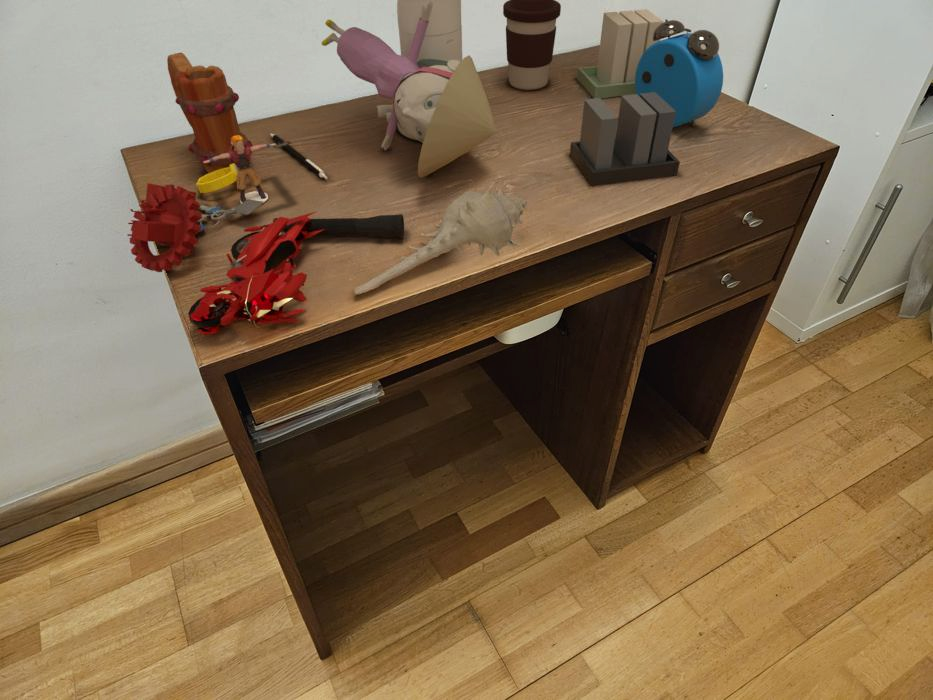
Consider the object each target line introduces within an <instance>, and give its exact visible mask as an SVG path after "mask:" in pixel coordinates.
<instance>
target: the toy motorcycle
mask: <svg viewBox="0 0 933 700" xmlns="http://www.w3.org/2000/svg"><path fill="white" fill-rule="evenodd" d="M317 212H318V210H317V211H313V212H310V213H309V212H308V213H306V214H302V215H297V216H295V217H292V218H288V217H284V216H279V217H277V218H278V219H277V220H275V221H274V222H273V221H272V222H271V223H267V224H264V225H259V226H256V225H255V226H254V225H253V226H250V227H246V228H243V232H245V233H248V234H245V235H243V236H242V237H240V238H238V239H237V240H236V241H235V242H234V243H233V244H232V246H231V248H230V253H231V255H230V253H226V258H227V259H228V261H229V263H230V268H229V269H228V270H227V271H226V277H227V278H228V279H230V280H231V282H230V283H226V284H225V283H224V284H221V285H209V286H204V287H202V288H201V289H200V293H205V294H204V295H203V296H202V297H199V299H197V300H196V301H195V302H194V303H193V304H192V305H191V306H190V309H189V311H188V312H187V313H188V319H189V322H190V324H192V325H194V326H195V327H197V330H198V332H199V333H200V334H204V335H210V334H214V333H218V332H219V331H220V326H221V325H222V326H227V325H229V324H231V323H232V322H233V321H236V320H239V321H240V320H247V321H249V322H250V323H251V324H252V325H254V326H255V327H256V328H257V329H260V328H261V327H267V326H269V327H270V326H273V325H276V324H280V323H281V324H282V323H300V321H299V320H298V319H297V318H296V317H291V316H295V315H298V314H301V313H303V312H305V311H306V309H303V308H295V309H294V310H291V311H288V312H285V313H283V308H284V307H285V306H286V305H287V304H288V302H290V301H291V300H292V301H297V302H300V303H304V302H306V301H308V299H307V298H306V296H305V294H304V293H303V291H302V290H301V288H302V287H304V286H305V283H306V281H307V278H308V277H307V274H306V273H304V272H302V271H301V272H298V273H296V274H294V270H295V269H296V267H297V265H296V264H295V262H294V261H295V260H296V258H298V256H299V254H300V253H301V251H302V248H300V246H301V245H302V243H303V242H304V240H307V239H309V238H312V236H313V235H315V234H317V233H319V232H321V231H323V230H324V229H323V230H318V231H314V232H309V233H307V232H308V230H309V229H310V227H311V225H312V224H311V221H310V219H311V218H310V216H312V215H314V214H315V213H317ZM297 221H298V222H297ZM294 222H297V223H296V224H295V225H294V226H293V227H292V228H290V229H289V230H288V231H287V232H284V231H283V229H284V228H285V226H286V225H289V224H292V223H294ZM231 256H232V257H231ZM232 258H233V259H234V260H233V259H232ZM293 269H294V270H293ZM257 325H261V326H257Z"/></svg>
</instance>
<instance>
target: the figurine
mask: <svg viewBox="0 0 933 700" xmlns="http://www.w3.org/2000/svg"><path fill="white" fill-rule="evenodd" d="M432 7H433V3H432V1H431V0H429V1H427V2H426V5H424V6H423V7H422V13H421V17H420V18H419V22H418V25H417V28H416V32H415V35H414V39H413V42H412V45H411V49H410V52H409V55H408V57H407V58H406V57H404V56H402V55H401V54H397V53H396V52H395V50H393V48H392V47H391V46H389V44H387V43H386V41H384V40H383V39H382V38H380V37H379V36H377V35H375V34H373V33H372V32H370V31H367V30H364V29H362V28H359V27H357V26H352V27H349V28H347V29H346V30H344V29H343V28H341V27H340V26H338V25H337V24H336V22H335V21H333V20H332V19H326V21H325V25H326V26H327V27H328V28H329V29H331V30H332V31H333V32H332V33H330V34H329V35H328V36H327V37H325V38H324V39H323V40H322V41H321V45H322V46H323V47H326V46H328V45H330V44H331V43H333V42H335V43H336V44H337V45H336V53H337V56H338V57H339V59H340V61H341V62H342V63H343V64H344V65H345V67H346V68H347V69H348V70H349V72H350V73H352V74H353V75H354V76H355V77H356V78H358V79H360V80H362V81H365V82H367V83H370V84H372V85H374V86H375V88H376V91H377V94H378V96H379V97H380V98H382V99H386V100H389V101H393V102H392V105H393V110H392V113H391V117H390V120H389V122H387V127H386V130H385V137H384V138H383V141H382V143H381V148H383V150H384V151H387V150H388V149H389V148H390V146H391V144H392V142H393V138H394V137H395V134H396V130H397V128H398V125H397V124H398V121H399V123H400V125H401V126H402V128H403V129H404V130H405V132H406V133H407V134H409V135H410V136H412V137H413V138H415V139H417V140H416V141H418V140H419V141H418V142H420V143H422V145H421V150H420V154H419V157H418V166H417V175H418V178H419V179H422V178H426V177H427V176H429V175H430V174H432V173H434V172H436V171H438V170H439V169H441V168H443V167H445V166H446V165H448V164H449V163H451V162H453V161H455V160H456V159H458V158H460V157H461V156H463V155H464V154H466V153H468V152H469V151H471V150H473V149H474V148H476V147H477V146H479V145H480V144H482V143H483V142H485V141H486V140H487V139H489V138H490V137H492V136H493V135H495V134H496V133H497V132H498V130H497V128H496V124H495V121H494V117H493V113H492V109H491V106H490V102H489V100H488V97H487V95H486V92H485V89H484V85H483V83H482V80H481V78H480V75H479V73H478V71H477V70H478V69H477V68H476V65H475V62H474V60H473V58H472V56H471V55H467V56H465V57H463V58H462V61H461V62H460V61H458V60H450V61H443V60H435V59H422V60H420V61H418V62H417V59H418V55H419V52H420V49H421V46H422V42H423V39H424V36H425V32H426V29H427V26H428V23H429V21H428V20H429V17H430V14H431V10H432ZM335 32H336V33H337V34H339V35H340V36H339V37H338V36H337V34H336V33H335Z"/></svg>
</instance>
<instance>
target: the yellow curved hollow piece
mask: <svg viewBox="0 0 933 700" xmlns="http://www.w3.org/2000/svg"><path fill="white" fill-rule="evenodd" d="M237 175H238V169H237V166H236V165H235V163H233V164H230V167H227V168H222V169H219V170H216V171H213V172H211V173H209V172H208V173H206V174H205V175H203V176H201V177H199V178H198V180H197V182H196V184H195V186H196V187H197V189H198V191H199V193H200V194H208V193H212V192H217V191H219V190H221V189H223V188H226V187H228V186H230V185H232V184H234V183H235V182H236V183H237Z"/></svg>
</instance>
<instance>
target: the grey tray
mask: <svg viewBox="0 0 933 700" xmlns="http://www.w3.org/2000/svg"><path fill="white" fill-rule="evenodd" d="M614 144H615V142H614ZM579 146H580V140H579V141H571V142H570V148H569V156H570V158H571V159H572V161H573V162H574V163H575V166H577V168H578V169H579V171H580V172H581V173H582V175H583V176H584V178H585V179H586V180H587V182H588V183H589V185H590V186H599V185H600V186H601V185H607V184H608V185H609V184H614V183H624V182H631V181H640V180H648V179H654V178H663V177H672V176H677V175H678V172H679V168H680V163H681V161H680V160H679V159H678V158H677V157H676V156H675V155H674V154H673V153H672V152H671V151H670V150H669V149H668V152H667V157H666V162H658V163H650V164H642V165H633V166H626V165H625V164H624V163H623V162H622V160H621V159H620V158H619V157H618V156H617V154H616V153H615V152H614V149H613V156H612V163H611V168H608V169H600V170H595V169H594V168H593V166H592V165H591V164H590V162H589V161H588V160H587V158H586V157H585V156H584V154H583V153H582V151H581V150H580V149H579Z"/></svg>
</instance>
